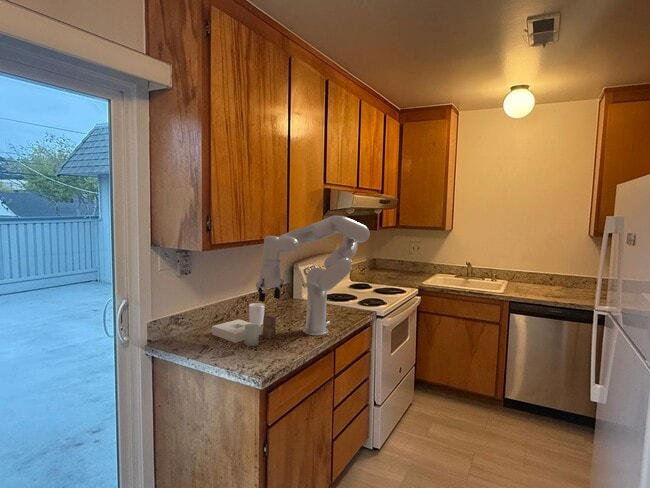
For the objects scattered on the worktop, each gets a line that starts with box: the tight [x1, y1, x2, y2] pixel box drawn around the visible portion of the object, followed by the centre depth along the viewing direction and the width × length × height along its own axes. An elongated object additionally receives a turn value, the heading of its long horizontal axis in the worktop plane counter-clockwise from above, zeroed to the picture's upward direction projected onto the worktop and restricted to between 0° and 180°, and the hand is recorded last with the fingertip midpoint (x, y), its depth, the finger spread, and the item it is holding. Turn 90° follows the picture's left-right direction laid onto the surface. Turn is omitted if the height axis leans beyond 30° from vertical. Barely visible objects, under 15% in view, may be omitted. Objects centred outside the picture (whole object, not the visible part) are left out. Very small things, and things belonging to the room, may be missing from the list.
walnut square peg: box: [262, 313, 277, 339], centre depth 180 cm, size 4×4×10 cm
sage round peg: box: [243, 324, 260, 347], centre depth 170 cm, size 6×6×8 cm
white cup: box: [248, 302, 266, 326], centre depth 199 cm, size 8×8×10 cm
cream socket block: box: [211, 318, 263, 343], centre depth 181 cm, size 16×16×4 cm
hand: (269, 299), depth 179 cm, fingers open, 9 cm apart
